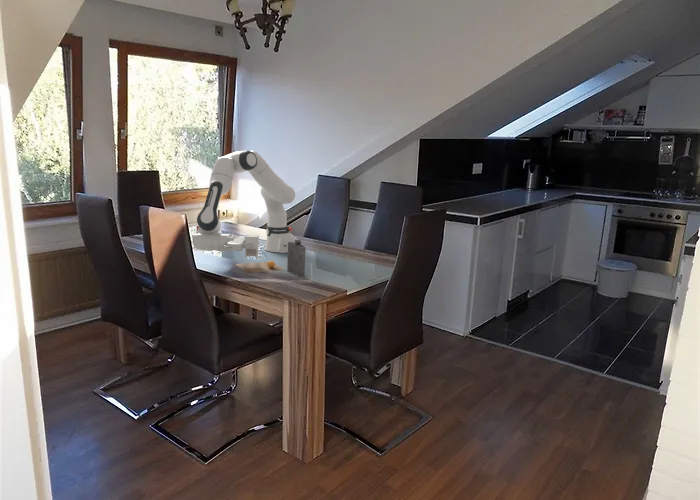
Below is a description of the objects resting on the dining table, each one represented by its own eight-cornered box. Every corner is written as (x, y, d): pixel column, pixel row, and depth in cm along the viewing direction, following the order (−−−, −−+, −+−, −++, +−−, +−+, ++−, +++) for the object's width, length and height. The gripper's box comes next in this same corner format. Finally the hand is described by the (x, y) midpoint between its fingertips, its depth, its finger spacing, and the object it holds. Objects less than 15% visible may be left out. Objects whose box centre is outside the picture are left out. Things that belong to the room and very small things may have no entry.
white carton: (246, 255, 277) (246, 234, 275) (258, 256, 278) (258, 235, 275) (245, 258, 271) (245, 236, 269) (257, 259, 272) (257, 237, 270)
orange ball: (273, 266, 277) (273, 259, 276) (275, 268, 274) (275, 261, 273) (266, 267, 275) (266, 260, 274) (268, 268, 272) (269, 261, 271)
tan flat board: (272, 263, 287) (272, 261, 287) (284, 272, 272) (284, 269, 272) (235, 266, 278) (235, 264, 278) (245, 275, 262) (245, 273, 262)
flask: (292, 272, 273) (293, 237, 269) (306, 279, 262) (308, 242, 258) (286, 272, 271) (287, 237, 267) (300, 280, 260) (301, 243, 256)
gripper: (222, 240, 261) (251, 241, 262) (228, 232, 281) (255, 234, 282) (222, 253, 263) (251, 254, 264) (228, 244, 283) (255, 246, 284)
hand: (253, 244), depth 273 cm, fingers closed on white carton, 6 cm apart
